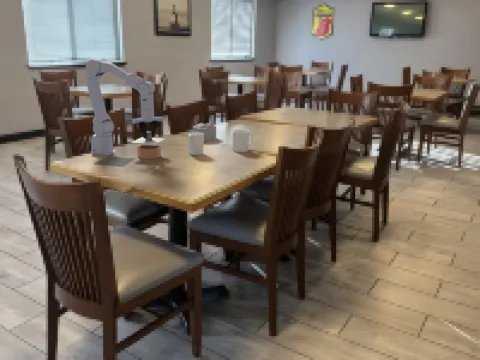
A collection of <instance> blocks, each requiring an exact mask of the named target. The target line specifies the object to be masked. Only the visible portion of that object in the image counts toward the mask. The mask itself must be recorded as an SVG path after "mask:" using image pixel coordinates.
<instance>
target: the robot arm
mask: <svg viewBox="0 0 480 360" xmlns="http://www.w3.org/2000/svg"><path fill="white" fill-rule="evenodd" d="M85 68H86V70H85V76H84V77H85V78H84V79H85V83H86V87H87V90H88V95H89V98H90V103H91V105H92V109H93V110H92V111H93V113H94V117H93V119H92V124H93V126H92V131H93V133H94V134H93V135H92V136H91V138H90V139H91V140H90V141H91V143H90V144H91V146H90V147H91V154H95V155H96V154H97V155H107V156H108V155H109V156H111V155H112V154H113V153H116V152H117V150H115V149H114V146H113V145H114V144H113V143H114V141H113V132H114V129H115V123H114V122H113V120H112V119H111V116H110V115H109V114H108V113H107V109H106V105H105V102H104V98H103V97H104V96H103V93H102V90H101V85H100V79H101V77H102V76H103V75H104V74H106V73H110V74H113V75H114V76H115V77H118V78H120V79H122V80H124V83H125V84H126V85H128V86H129V87H131V88H133V89H134V90H136V91H138V93H139V95H140V115H141V117H138V118H132V119H131V123H132V124H133V125H134V124H137V125H138V127H139V129H140V131H141V134H142V137H143V138H146V132H147V124H146V123H149V129H150V131H151V132H152V138H155V135H156V130H157V128H158V126H159V122H164V117H163V116H155V105H154V101H155V100H154V92H155V91H156V86H155V84H154V83H153V82H152V80H146V78H142V77H140V76H139V75H138V74H137V73H136V72H130V73H128V72H127V71H125V70H124V69H122V68H120V67H119V66H117V65H116V64H114V63H113V62H112V61H110V60H107V59H106V58H97V59H96V58H92V59H91V58H90V60H88V62H87V63H86V65H85Z"/></svg>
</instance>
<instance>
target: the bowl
mask: <svg viewBox="0 0 480 360" xmlns="http://www.w3.org/2000/svg"><path fill="white" fill-rule="evenodd" d="M161 147H162V146H160V144H158V145H157V146H151V145H138V146H137V148H136V149H137V153H136V154H137V157H138V158H139V159H144V160H151V159H152V160H153V159H158V158H160V157H161V156H162V153H161V151H162V149H161Z"/></svg>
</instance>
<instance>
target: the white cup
mask: <svg viewBox="0 0 480 360" xmlns="http://www.w3.org/2000/svg"><path fill="white" fill-rule="evenodd" d="M204 143H205V142H204V133H201V132H193V131H191V132H188V133H187V145H188V154H189V155H192V156H200V155H201V156H202V155H203V154H204Z"/></svg>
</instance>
